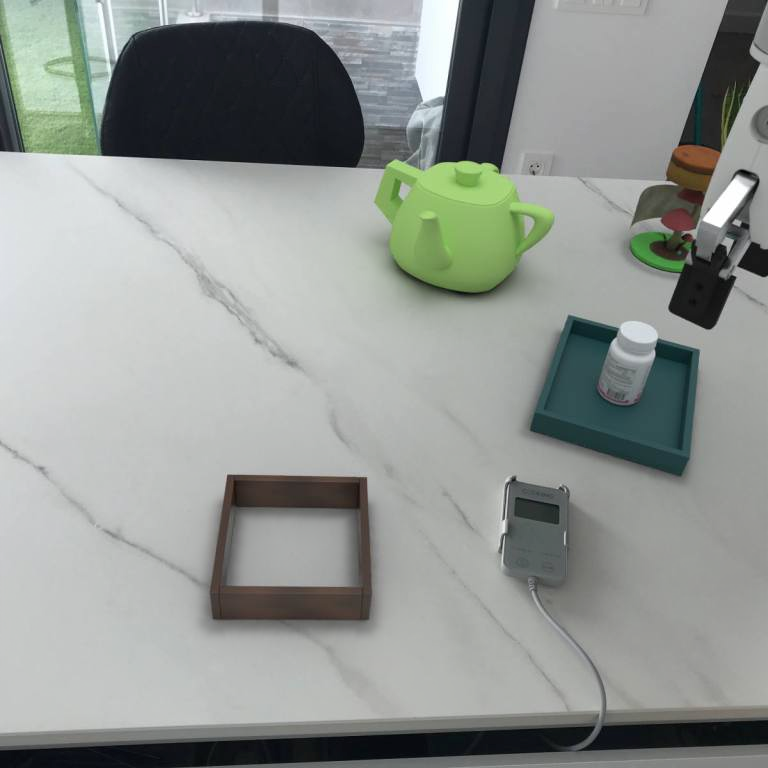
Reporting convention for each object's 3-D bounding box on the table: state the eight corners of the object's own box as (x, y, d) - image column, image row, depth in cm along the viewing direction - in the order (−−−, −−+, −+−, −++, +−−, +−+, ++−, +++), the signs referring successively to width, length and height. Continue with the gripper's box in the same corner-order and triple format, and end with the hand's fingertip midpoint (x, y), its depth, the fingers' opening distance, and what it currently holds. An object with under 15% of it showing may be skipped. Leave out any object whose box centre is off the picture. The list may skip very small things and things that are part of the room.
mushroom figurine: (730, 267, 111) (771, 169, 102) (658, 279, 107) (695, 178, 97) (678, 228, 119) (711, 133, 110) (610, 238, 115) (639, 140, 106)
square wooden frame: (364, 502, 72) (367, 476, 69) (368, 620, 62) (371, 594, 60) (229, 500, 71) (227, 474, 68) (212, 619, 61) (209, 593, 59)
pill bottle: (623, 375, 89) (644, 315, 83) (648, 402, 85) (672, 341, 80) (588, 383, 87) (607, 322, 82) (611, 410, 84) (634, 348, 78)
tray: (681, 476, 78) (689, 458, 76) (529, 430, 81) (534, 411, 80) (692, 366, 92) (700, 349, 90) (563, 331, 96) (568, 314, 94)
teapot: (490, 227, 115) (507, 133, 106) (546, 303, 100) (573, 201, 91) (367, 236, 110) (375, 138, 101) (409, 316, 95) (421, 210, 86)
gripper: (849, 88, 37) (720, 369, 48) (936, 30, 47) (814, 271, 58) (701, 46, 40) (613, 317, 51) (812, 0, 51) (719, 233, 62)
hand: (720, 292), depth 55 cm, fingers open, 9 cm apart
